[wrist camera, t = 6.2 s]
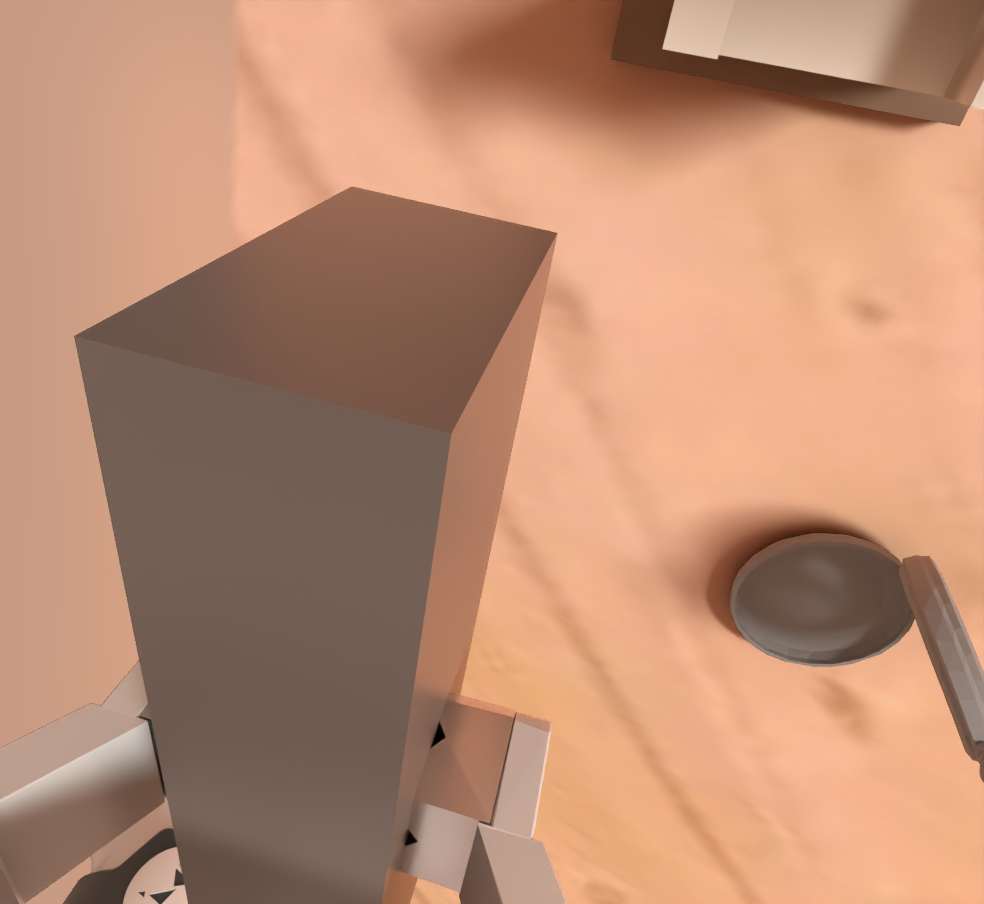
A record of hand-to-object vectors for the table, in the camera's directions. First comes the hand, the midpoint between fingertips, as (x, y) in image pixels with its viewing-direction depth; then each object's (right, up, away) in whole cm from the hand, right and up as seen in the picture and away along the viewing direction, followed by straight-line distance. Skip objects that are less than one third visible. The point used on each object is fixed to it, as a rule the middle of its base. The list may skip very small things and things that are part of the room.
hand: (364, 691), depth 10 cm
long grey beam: (0, +1, +1) cm, 2 cm away
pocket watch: (+16, -2, +17) cm, 23 cm away
